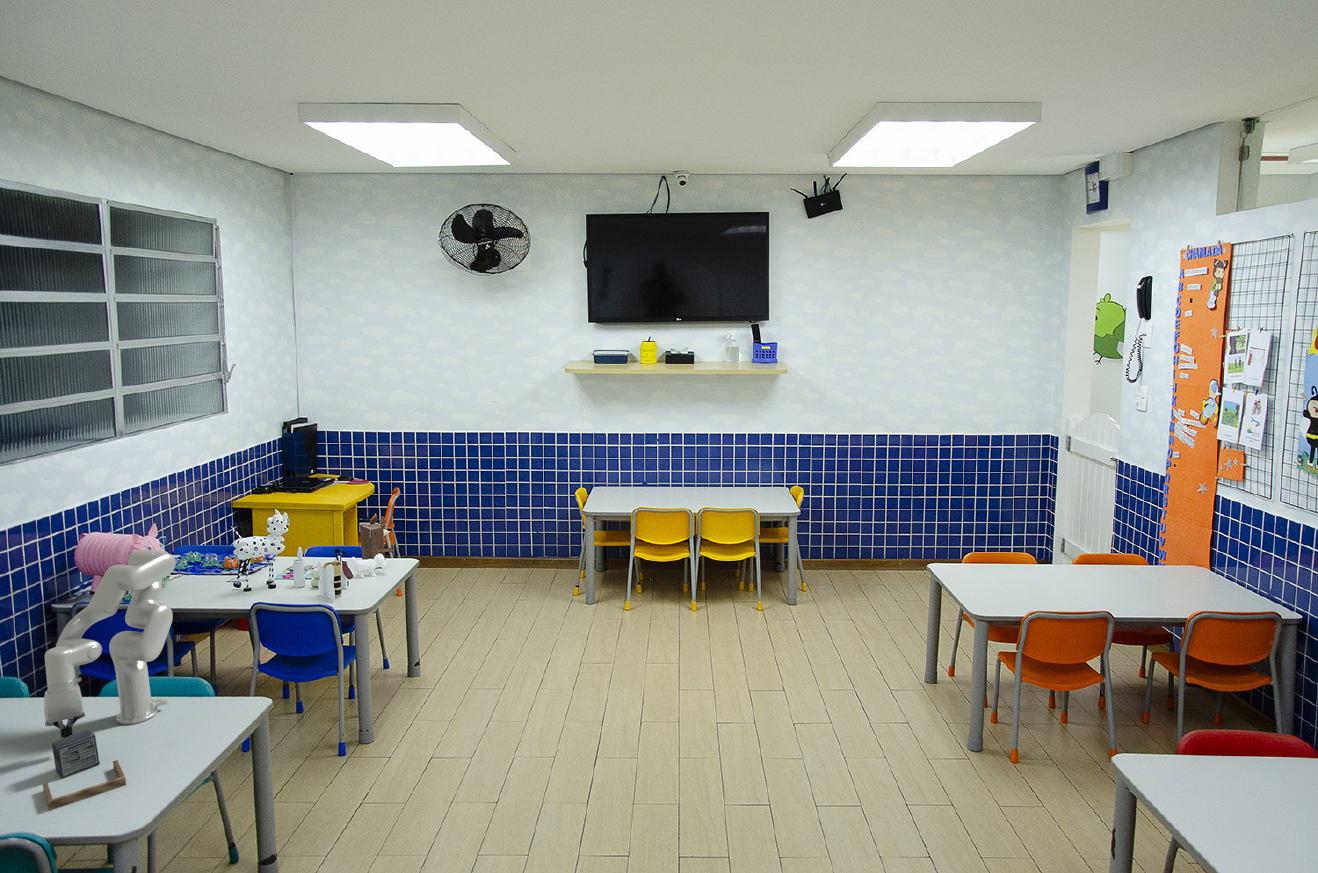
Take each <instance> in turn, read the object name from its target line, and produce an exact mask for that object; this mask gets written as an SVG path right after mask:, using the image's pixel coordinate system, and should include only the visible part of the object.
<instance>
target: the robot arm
mask: <svg viewBox="0 0 1318 873" xmlns="http://www.w3.org/2000/svg"><path fill="white" fill-rule="evenodd" d="M176 562H177V561H176V559H175V557H174V556H173V555H172V554H171V553H168V552H165V551H154V550H147V549H146V550H145V549H144V550H143V549H142V550H135V551H133V552H132V553H131V554H130V555H129V557H128V560H127V564H128V565H127V564H115V565H114V564H113V565H111V566H110V567H108V568H107V569H106V571H105V572H104V574H103V577H102V578H101V581H100V582H99V584H98V586H97V589H96V590H95V592H94V594H93V596H92V598H91V600H90V602H89V603H88V605H87V606H86V607H85V608H83V609H82V610H80V611H79V612H78V613H77V614H76V615H75V616H73V618H71V619H70V620H69V621H68V623H67V624H66V625H65V626H64V628H63V630H62V632H61V634H60V635H59V636H58V639H57V642H56V644H55V647H52V648H49V649H48V650H46V651H45V654H44V663H45V664H44V665H45V674H46V684H47V690H46V691H45V692H44V696H43V697H44V698H43V700H44V701H43V703H44V704H43V705H44V706H43V707H44V718H45V722H44V724H45V727H56V728H57V729H60V738H61V739H63V738H66V737H69V736H71V735H74V734H73V726H74V724H75V723H76V722H77V721H78V720H80V719H82V718H84V717H86V713H85V711H84V710H85V709H84V703H83V697H82V696H83V695H82V692H81V688H80V686H79V684H78V683H79V682H82V677H77V676H76V672H75V671H76V670H75V667H78V666H81V665H86V664H89V663H92V662H94V661H96V660H97V659H99V657H100V655H101V654H102V652H103V647H102V645H101V644H100V642H99V641H96V640H93V639H87V638H82V637H83V635H84V634H85V633H86V631H87V630H88V629H89V628H90V627H92V626H93V625H94V624H95V623H97V622H100V621H102V620H104V619H107V618H109V617H112V616H114V615H115V614H116V613H117V611H118V609H119V607H120V605H121V604H122V601H123V599H124V597H125V595H126V593H127V591H130V592H133V593H132V597H131V599H130V601H129V604H128V606H127V609H126V613H125V616H124V620H125V623H126V624H127V626H129V627H131V628H136V629H143V631H142V632H141V631H132V630H125V631H120V632H118V633H116V634H115V635H114V636H113V637H112V638H111V640H110V641H109V645H108V646H109V647H108V648H109V649H108V650H109V654H110V657H111V660H112V662H113V665H114V671H115V678H116V685H117V686H116V687H117V693H118V701H119V709H120V712H119V713H118V714H117V715H116V717H115V719H116V722H117V723H118V724H120V725H134V724H139V723H142V722H145V721H147V720H150V719H151V718H153V717H155V715H156V714H157V713H158V712H159V711H158V707H160V706H165V705H167V704H168V699H167V698H164V699H162V698H161V697H160V698H156V699H153V698H152V695H151V694H152V693H151V686H150V679H149V670H148V665H147V663H148V662H153V661H154V660H156V659H157V658H158V657H159V655H160V654H161V652H162V651H163V648H164V645H165V643H166V641H167V637H168V635H169V631H170V628H171V625H172V623H173V619H174V618H173V610H172V609H171V606H169V605H168V604H166V603H162V602H160V598H161V596H162V592H163V586H164V585H163V579H164V578H166V577H168V576H169V575H171V574H172V573H173V572H174V570H175V567H176V565H177V564H176ZM65 720H67V723H66V724H64V722H63V721H65Z"/></svg>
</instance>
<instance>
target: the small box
mask: <svg viewBox="0 0 1318 873" xmlns="http://www.w3.org/2000/svg"><path fill="white" fill-rule="evenodd" d="M51 748H52V754H53V761H54V767H55V773H56V774H57V775H58V776H59V777H60V778H61V779H66V778H68V777H71V776H72V775H76V774H79V773H81V772H84V771H86V770H89V769H92V768H94V767H96V766H99V765H100V764H101V762H100V758H99V751H98V744H97V739H96V734H95V733H94V732H93V731H91V729H85V730H83V731H80V732H77V733H74V734H73V735H70V736H69V737H66V738H64V737H63V738H61V739H57V740H55V741H52V742H51Z"/></svg>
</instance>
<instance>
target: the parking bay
mask: <svg viewBox="0 0 1318 873" xmlns="http://www.w3.org/2000/svg"><path fill="white" fill-rule="evenodd" d="M112 765H113V770H114V772H115V775H116V776H117V777H116V778H114V779H113V778H112V779H111V780H107V781H105V782H101V783H99V784H95V785H92V786H88V787H86V788H83V789H80V790H77V791H73V792H70V793H68V794H65V795H61V796H58V797H55V798H53V797H52V793H51V790H50V789H51V788H50V786H49V783H48V781H47V782H44V783H42V788H43V793H44V798H45V800H46V804H47V808H48V811H52V810H55V809H58V808H61V807H64V806H68V805H70V804H73V803H76V802H79V801H81V800H82V801H84V800H85V799H88V798H92V797H94V796H98V795H99V794H103V793H107V792H109V791H112V790H114V789H118V788H121V787H124V786H127V781H126V776H125V774H124V771H123V769H122V767H121V765H120V763H119V760H118V759H115V760H114V761H112Z"/></svg>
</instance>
